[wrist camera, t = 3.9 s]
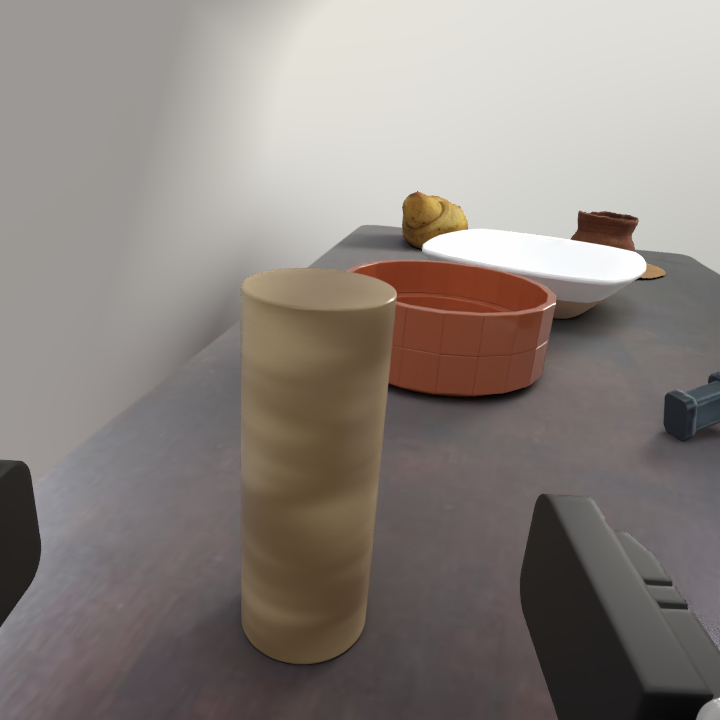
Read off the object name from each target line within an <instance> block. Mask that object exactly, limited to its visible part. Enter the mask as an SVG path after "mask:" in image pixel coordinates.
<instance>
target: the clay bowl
mask: <svg viewBox="0 0 720 720" xmlns="http://www.w3.org/2000/svg"><path fill="white" fill-rule="evenodd" d="M346 271H347V272H353V273H358V274H362V275H366V276H370V277H373V278H376V279H379V280H381V281H384V282H386V283H388V284H389V285H391V286H392V287H393V288H394V289H395V290H396V293H397V300H396V311H395V321H394V331H393V341H392V352H391V362H390V372H389V383H388V384H391V385H394V386H397V387H400V388H404V389H408V390H412V391H417V392H422V393H428V394H434V395H444V396H462V397H464V396H484V395H491V394H499V393H507V392H510V391H514V390H517V389H521V388H524V387H527V386H530V385H531V384H532V383H533V382H535V381H536V380H537V379H538V378H540V377H541V376H542V371H543V366H544V361H545V356H546V351H547V346H548V340H549V336H550V331H551V326H552V320H553V315H554V310H555V305H556V294H555V293H553V292H552V291H551V290H550V289H549V288H548V287H547V286H544V285H542V284H540V283H538V282H536V281H533V280H531V279H529V278H526V277H523V276H519V275H516V274H513V273H509V272H506V271H502V270H497V269H492V268H487V267H482V266H477V265H470V264H462V263H455V262H445V261H431V260H387V261H375V262H369V263H364V264H360V265H356V266H353V267H351V268H350V269H348V270H346Z"/></svg>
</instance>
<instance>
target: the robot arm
mask: <svg viewBox="0 0 720 720" xmlns="http://www.w3.org/2000/svg"><path fill="white" fill-rule="evenodd" d="M40 555H41V539H40V533H39V526H38V519H37V513H36V506H35V499H34V493H33V486H32V479H31V475H30V470H29V468H28V466H27V465H26V464H25V463H24V462H22V461H12V460H0V627H1V625H2V624H3V622H4V621H5V620H6V618H7V617H8V615H9V614H10V613H11V611H12V610H13V608H14V607H15V606H16V604H17V603H18V601H19V600H20V599H21V597H22V596H23V594H24V593H25V592H26V590H27V589H28V587H29V586H30V584H31V583H32V581H33V579H34V577H35V574H36V572H37V569H38V565H39V561H40ZM520 597H521V605H522V610H523V614H524V617H525V620H526V623H527V626H528V629H529V632H530V635H531V638H532V641H533V644H534V647H535V650H536V653H537V656H538V659H539V662H540V665H541V668H542V671H543V674H544V677H545V680H546V683H547V686H548V689H549V692H550V695H551V698H552V701H553V704H554V707H555V710H556V713H557V716H558V719H559V720H720V651H719V650H718V648H717V647H716V645H715V644H714V642H713V641H712V639H711V638H710V636H709V635H708V633H707V632H706V630H705V629H704V628H703V626H702V625H701V623H700V622H699V620H698V619H697V617H696V616H695V614H694V613H693V611H692V610H688V607H687V605H688V604H687V603H686V601H685V600H684V598H683V597H682V595H681V594H680V592H679V591H678V589H677V588H676V587H673V586H672V580H671V579H670V577H669V576H668V575H667V573H666V572H665V570H664V569H663V567H662V566H661V564H660V563H659V561H658V560H657V558H656V557H655V555H654V554H653V553H651V552H650V551H649V550H648V549H646V548H645V547H644V546H643V545H642V544H640V543H639V542H638V541H637V540H635V539H634V538H633V537H632V536H630V535H629V534H628V533H627V532H626V531H613V530H612V529H611V527H610V526H609V524H608V522H607V521H606V519H605V517H604V516H603V514H602V513H601V511H600V509H599V508H598V506H597V505H596V503H595V502H594V500H593V499H592V498H590V497H586V496H569V495H553V494H541V495H540V496H539V497H538V499H537V501H536V504H535V508H534V512H533V517H532V522H531V527H530V531H529V536H528V541H527V546H526V550H525V555H524V560H523V565H522V569H521V576H520Z"/></svg>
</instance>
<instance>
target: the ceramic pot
mask: <svg viewBox="0 0 720 720" xmlns="http://www.w3.org/2000/svg"><path fill="white" fill-rule="evenodd" d="M637 224H638V218H636V217H633V216H631V215H622V214H616V213H611V212H606V211H604V212H599V213H597V212H591V213H586V212H582V211H579V213H578V230H577V232H576V233H575V234H574V235H573V236H572V238H571V240H574V241H581V242H587V243H592V244H598V245H604V246H610V247H614V248H619V249H624V250H629V251H633V252H635V248H634V243H633V241H632V233H633V231H634V230H635V227H636V226H637ZM664 274H666V273H665V272H664V270H663V269H661V268H660V267H657V266H655V265H649V264H647V263H646V272H645V273H644V274H643V275H641V276H640V277H639V278H656V277H659V276H664Z"/></svg>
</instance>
